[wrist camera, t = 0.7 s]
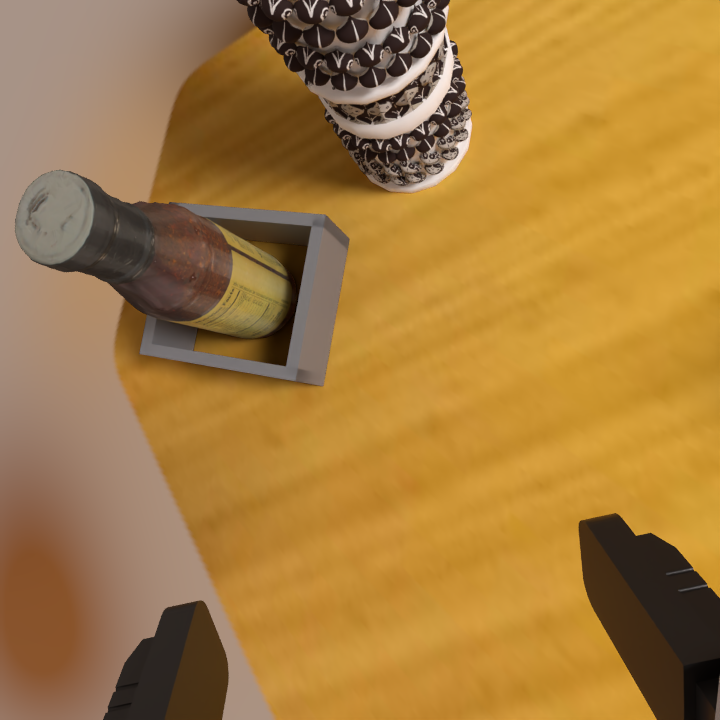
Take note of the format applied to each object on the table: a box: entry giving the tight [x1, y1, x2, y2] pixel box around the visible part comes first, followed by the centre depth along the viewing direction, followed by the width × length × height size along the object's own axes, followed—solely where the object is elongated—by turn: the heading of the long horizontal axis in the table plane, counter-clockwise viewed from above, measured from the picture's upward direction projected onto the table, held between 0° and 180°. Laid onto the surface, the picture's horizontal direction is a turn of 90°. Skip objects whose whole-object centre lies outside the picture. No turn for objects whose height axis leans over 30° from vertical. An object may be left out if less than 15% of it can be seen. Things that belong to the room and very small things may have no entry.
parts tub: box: [139, 202, 350, 386], centre depth 40 cm, size 11×12×5 cm
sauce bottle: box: [15, 170, 296, 339], centre depth 33 cm, size 7×6×20 cm
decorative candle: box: [237, 0, 472, 193], centre depth 29 cm, size 9×9×25 cm
